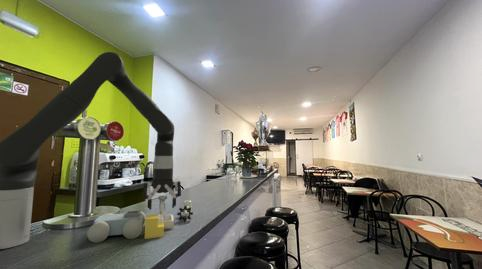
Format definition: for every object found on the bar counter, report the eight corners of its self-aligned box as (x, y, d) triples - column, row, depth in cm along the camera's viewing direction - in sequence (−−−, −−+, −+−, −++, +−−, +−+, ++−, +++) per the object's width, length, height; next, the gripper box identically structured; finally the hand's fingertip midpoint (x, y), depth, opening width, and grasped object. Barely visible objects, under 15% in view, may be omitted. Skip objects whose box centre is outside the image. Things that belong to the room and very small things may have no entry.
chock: (144, 239, 73) (145, 219, 73) (145, 233, 77) (146, 215, 78) (163, 236, 75) (164, 217, 75) (163, 231, 79) (164, 213, 80)
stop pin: (156, 226, 83) (158, 197, 84) (157, 223, 86) (158, 195, 88) (166, 225, 84) (167, 196, 85) (166, 222, 88) (167, 195, 89)
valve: (180, 214, 103) (176, 222, 91) (181, 200, 103) (177, 206, 92) (194, 214, 104) (192, 221, 92) (195, 199, 104) (193, 205, 93)
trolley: (86, 243, 68) (88, 220, 69) (98, 230, 80) (99, 210, 81) (141, 237, 73) (142, 215, 74) (145, 225, 86) (146, 207, 86)
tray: (148, 231, 80) (148, 222, 80) (149, 223, 88) (150, 216, 88) (173, 228, 83) (173, 220, 83) (172, 221, 91) (173, 214, 91)
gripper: (180, 166, 93) (179, 205, 92) (145, 167, 89) (143, 207, 87) (182, 167, 86) (181, 209, 85) (143, 168, 82) (141, 212, 80)
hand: (161, 208), depth 86 cm, fingers open, 8 cm apart
